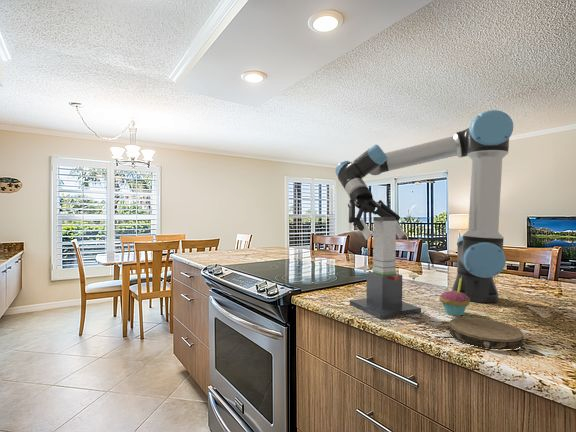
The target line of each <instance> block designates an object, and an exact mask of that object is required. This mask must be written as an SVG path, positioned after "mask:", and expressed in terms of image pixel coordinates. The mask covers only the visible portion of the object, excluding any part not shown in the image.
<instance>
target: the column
mask: <svg viewBox="0 0 576 432" xmlns="http://www.w3.org/2000/svg"><path fill="white" fill-rule="evenodd" d="M372 228H373V233H372V234H373V235H372V237H373V241H372V243H373V245H372V247H373V250H372V251H373V252H372V253H373V254H372V257H373V259H372V264H373V265H372V272H373V273H374V274H378V275H381V276H388V275H396V274H397V272H396V269H397V268H396V266H397V265H396V262H397V260H396V257H397V256H396V255H397V253H396V251H397V249H396V248H397V246H396V245H397V244H396V243H397V239H396V238H397V237H396V236H397V234H396V217H380V216H373V227H372Z"/></svg>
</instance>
